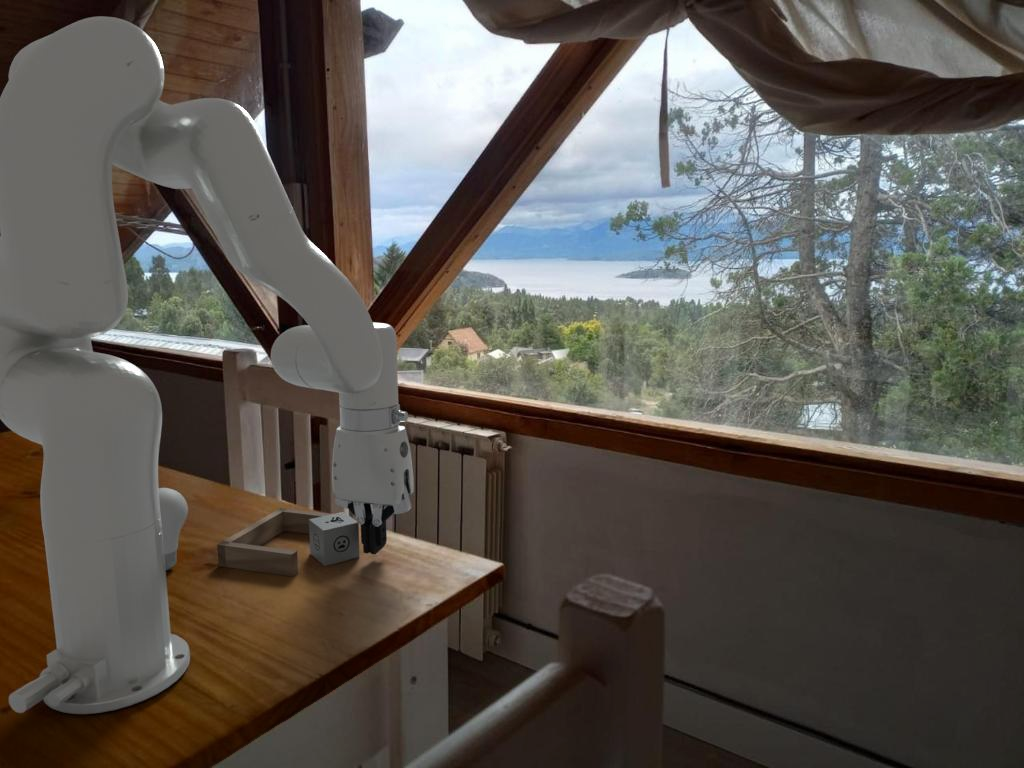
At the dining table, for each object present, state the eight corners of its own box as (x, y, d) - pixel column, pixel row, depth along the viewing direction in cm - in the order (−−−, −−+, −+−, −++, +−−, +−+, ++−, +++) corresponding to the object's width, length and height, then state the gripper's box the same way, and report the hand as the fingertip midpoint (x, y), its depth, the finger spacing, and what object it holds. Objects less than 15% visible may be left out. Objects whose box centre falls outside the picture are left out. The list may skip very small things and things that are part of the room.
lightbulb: (182, 555, 96) (176, 478, 94) (199, 569, 92) (193, 489, 90) (133, 569, 92) (126, 488, 90) (149, 584, 87) (142, 500, 85)
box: (293, 576, 90) (291, 554, 89) (218, 565, 93) (217, 544, 92) (347, 534, 103) (347, 515, 103) (281, 526, 106) (280, 508, 106)
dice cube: (359, 557, 96) (358, 522, 95) (324, 566, 93) (323, 530, 92) (344, 545, 100) (343, 511, 99) (310, 553, 97) (308, 519, 96)
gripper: (433, 415, 93) (436, 545, 96) (333, 408, 97) (339, 533, 100) (410, 428, 86) (413, 568, 89) (303, 420, 90) (310, 554, 93)
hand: (374, 549), depth 95 cm, fingers closed
